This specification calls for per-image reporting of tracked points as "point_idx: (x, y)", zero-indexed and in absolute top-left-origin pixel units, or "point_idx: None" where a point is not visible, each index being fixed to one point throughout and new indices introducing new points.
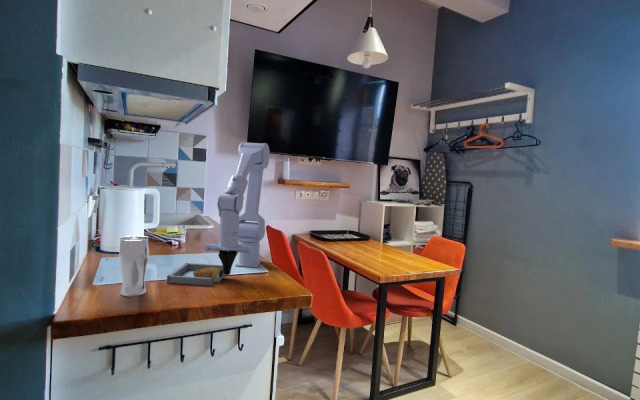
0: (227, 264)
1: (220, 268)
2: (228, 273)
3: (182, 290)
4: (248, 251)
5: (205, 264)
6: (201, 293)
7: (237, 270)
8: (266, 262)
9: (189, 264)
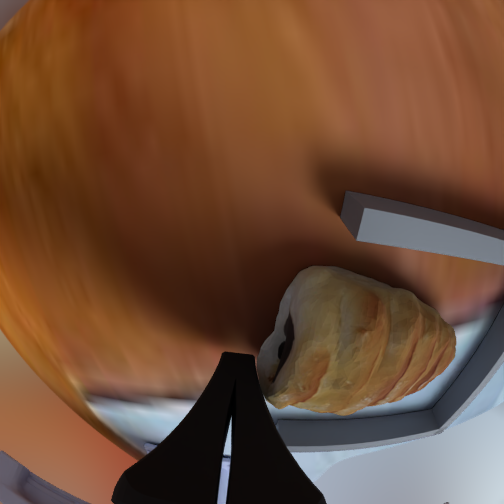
0: (221, 420)
1: (290, 387)
2: (222, 359)
3: (494, 105)
4: (9, 474)
5: (371, 445)
6: (381, 18)
7: None
8: None
9: (434, 428)
